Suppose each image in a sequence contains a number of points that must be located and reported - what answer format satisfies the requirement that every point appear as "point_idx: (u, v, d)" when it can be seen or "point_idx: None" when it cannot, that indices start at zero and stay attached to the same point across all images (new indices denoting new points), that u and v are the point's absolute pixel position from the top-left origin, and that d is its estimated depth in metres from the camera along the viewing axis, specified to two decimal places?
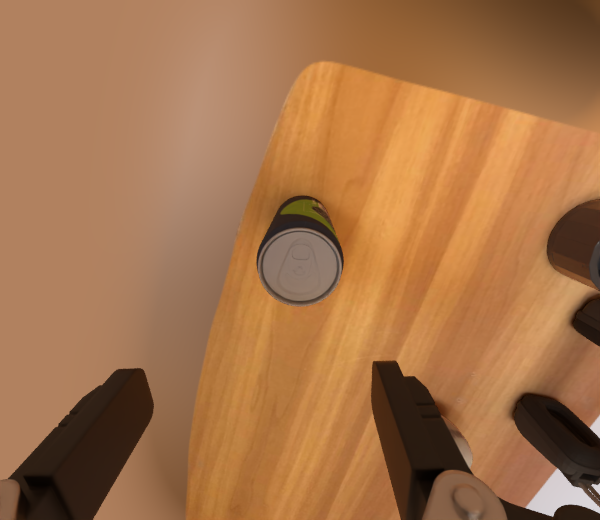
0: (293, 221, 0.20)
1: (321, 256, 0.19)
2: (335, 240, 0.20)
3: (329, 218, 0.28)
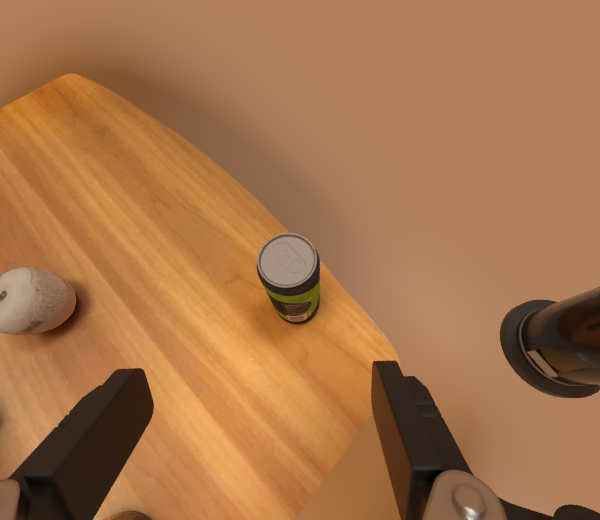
0: (317, 273, 0.28)
1: (286, 276, 0.27)
2: (290, 292, 0.27)
3: (294, 314, 0.34)
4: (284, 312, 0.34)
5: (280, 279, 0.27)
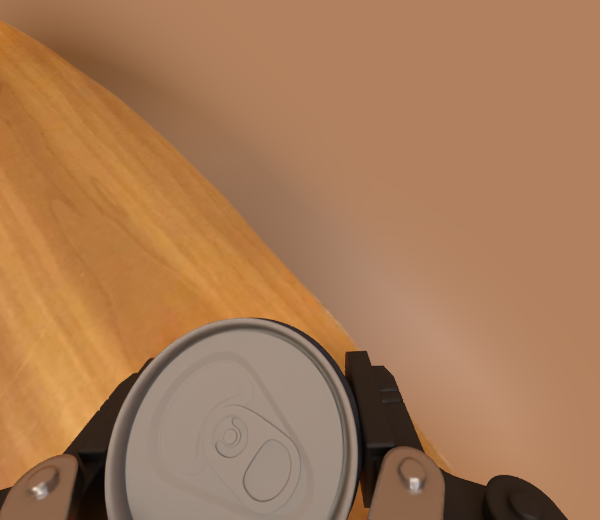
0: (355, 493, 0.07)
1: None
2: None
3: None
4: None
5: None
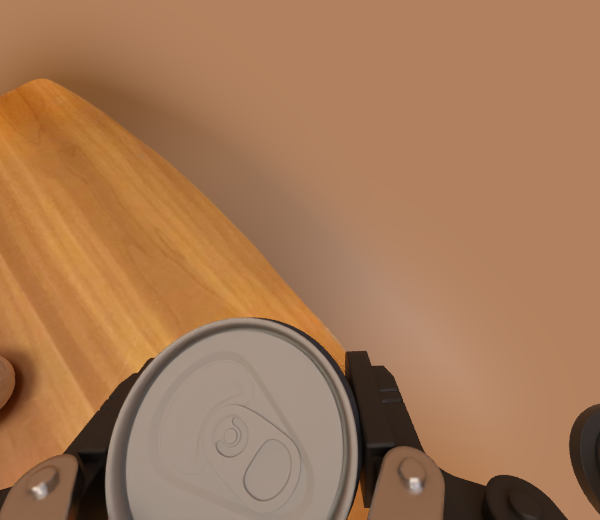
0: (355, 493, 0.07)
1: None
2: None
3: None
4: None
5: None
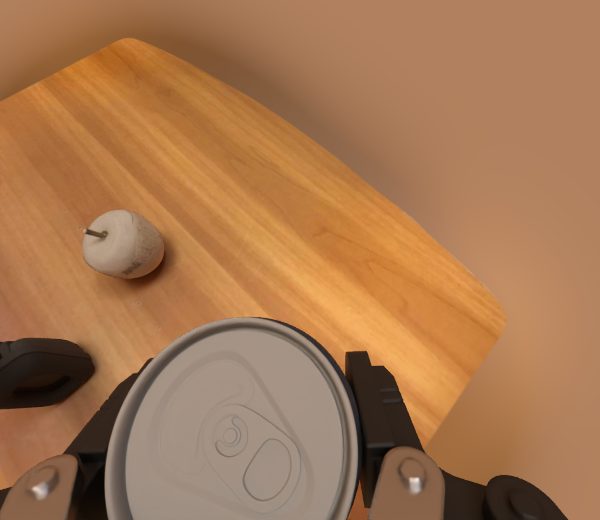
0: (355, 493, 0.07)
1: None
2: None
3: None
4: None
5: None
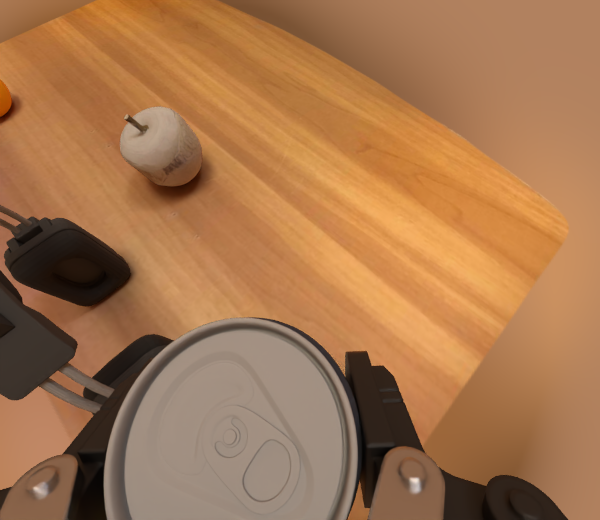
0: (355, 493, 0.07)
1: None
2: None
3: None
4: None
5: None
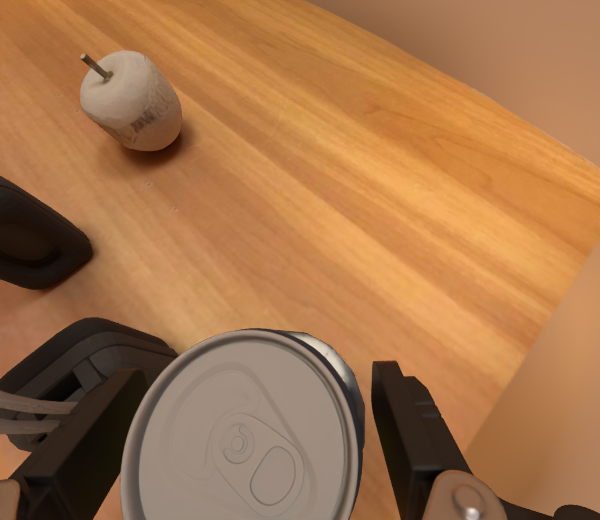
0: (355, 497, 0.07)
1: None
2: None
3: None
4: None
5: None
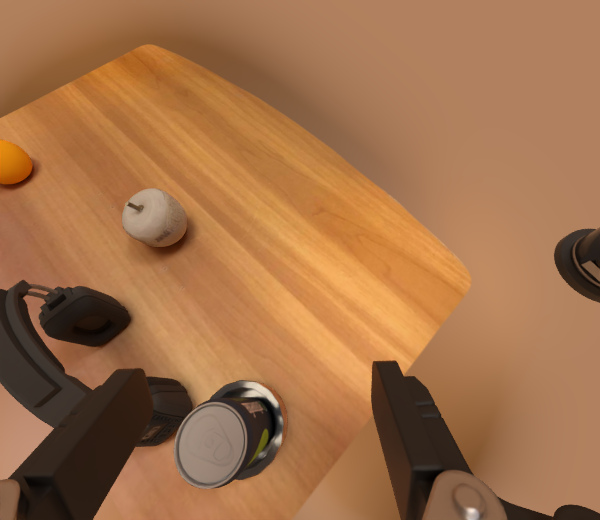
0: (248, 458, 0.23)
1: (208, 469, 0.22)
2: (212, 487, 0.22)
3: None
4: None
5: (199, 473, 0.22)
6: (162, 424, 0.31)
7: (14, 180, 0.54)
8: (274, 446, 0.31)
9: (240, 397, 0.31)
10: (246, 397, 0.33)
